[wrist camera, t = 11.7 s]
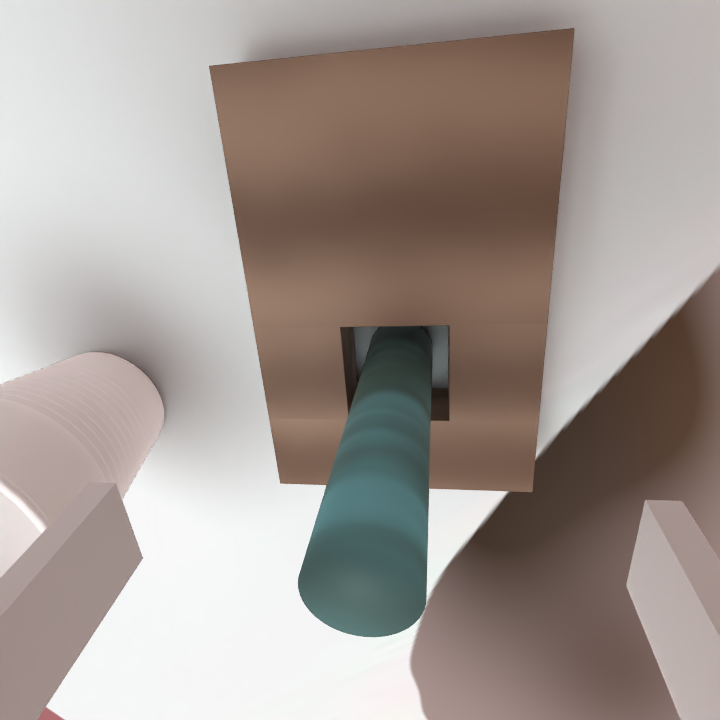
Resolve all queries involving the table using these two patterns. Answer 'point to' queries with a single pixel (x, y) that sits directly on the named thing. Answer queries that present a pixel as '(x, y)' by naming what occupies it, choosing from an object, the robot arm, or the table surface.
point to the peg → (377, 497)
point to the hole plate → (401, 235)
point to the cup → (69, 440)
